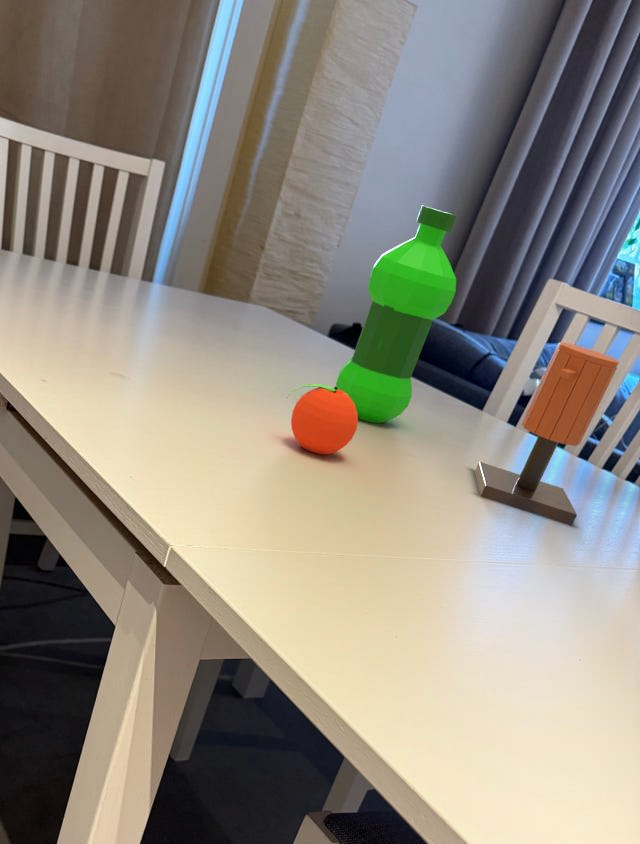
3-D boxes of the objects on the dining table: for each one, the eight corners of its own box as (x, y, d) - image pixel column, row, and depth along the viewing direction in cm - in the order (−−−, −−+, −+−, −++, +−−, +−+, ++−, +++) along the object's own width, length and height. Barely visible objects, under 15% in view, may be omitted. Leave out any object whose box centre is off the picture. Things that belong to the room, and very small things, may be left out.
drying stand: (557, 500, 107) (624, 364, 100) (570, 527, 99) (645, 380, 91) (473, 473, 108) (534, 336, 101) (479, 498, 100) (546, 350, 92)
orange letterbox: (531, 422, 104) (568, 342, 99) (585, 443, 101) (625, 361, 97) (506, 427, 97) (544, 342, 93) (562, 450, 94) (604, 363, 90)
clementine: (267, 445, 96) (289, 378, 93) (279, 431, 102) (299, 368, 99) (340, 470, 95) (365, 403, 92) (348, 454, 101) (371, 391, 98)
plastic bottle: (309, 402, 119) (379, 193, 107) (356, 403, 126) (428, 207, 114) (369, 432, 113) (451, 214, 101) (416, 431, 120) (497, 227, 108)
